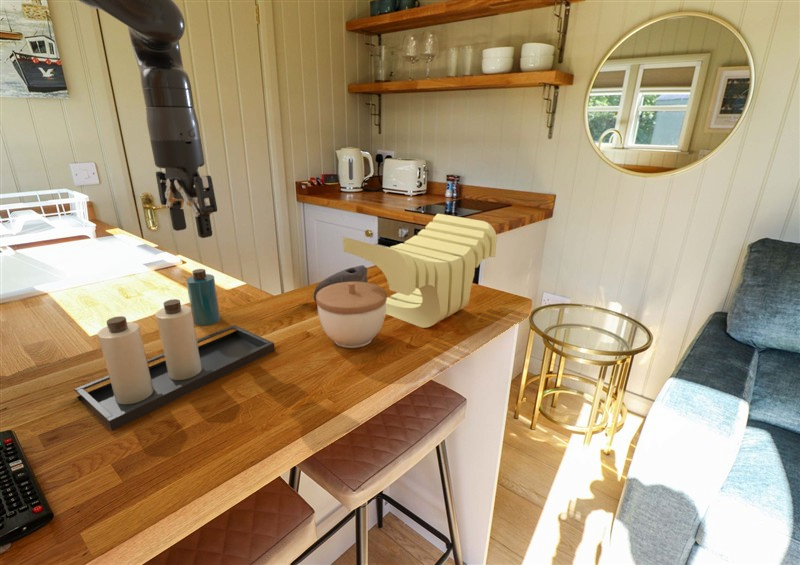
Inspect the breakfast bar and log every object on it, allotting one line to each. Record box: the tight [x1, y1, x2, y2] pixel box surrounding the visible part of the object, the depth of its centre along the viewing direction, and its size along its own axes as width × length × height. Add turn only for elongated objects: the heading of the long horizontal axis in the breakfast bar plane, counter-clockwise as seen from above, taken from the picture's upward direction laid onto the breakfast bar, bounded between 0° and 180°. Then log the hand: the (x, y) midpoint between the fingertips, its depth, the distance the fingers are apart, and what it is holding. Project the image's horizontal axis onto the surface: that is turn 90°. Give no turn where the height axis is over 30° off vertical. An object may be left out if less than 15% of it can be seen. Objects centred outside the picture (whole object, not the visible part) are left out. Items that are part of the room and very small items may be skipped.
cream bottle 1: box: [97, 315, 154, 405], centre depth 59 cm, size 5×5×12 cm
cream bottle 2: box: [154, 298, 202, 380], centre depth 65 cm, size 5×5×12 cm
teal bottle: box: [185, 268, 221, 327], centre depth 80 cm, size 5×5×12 cm
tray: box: [73, 324, 276, 432], centre depth 67 cm, size 12×26×2 cm, turn 144°
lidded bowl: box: [315, 282, 388, 349], centre depth 77 cm, size 13×13×11 cm
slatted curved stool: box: [342, 213, 498, 329], centre depth 88 cm, size 30×16×18 cm, turn 139°
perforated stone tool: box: [313, 264, 369, 304], centre depth 94 cm, size 15×5×7 cm, turn 133°
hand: (192, 233), depth 75 cm, fingers open, 8 cm apart
